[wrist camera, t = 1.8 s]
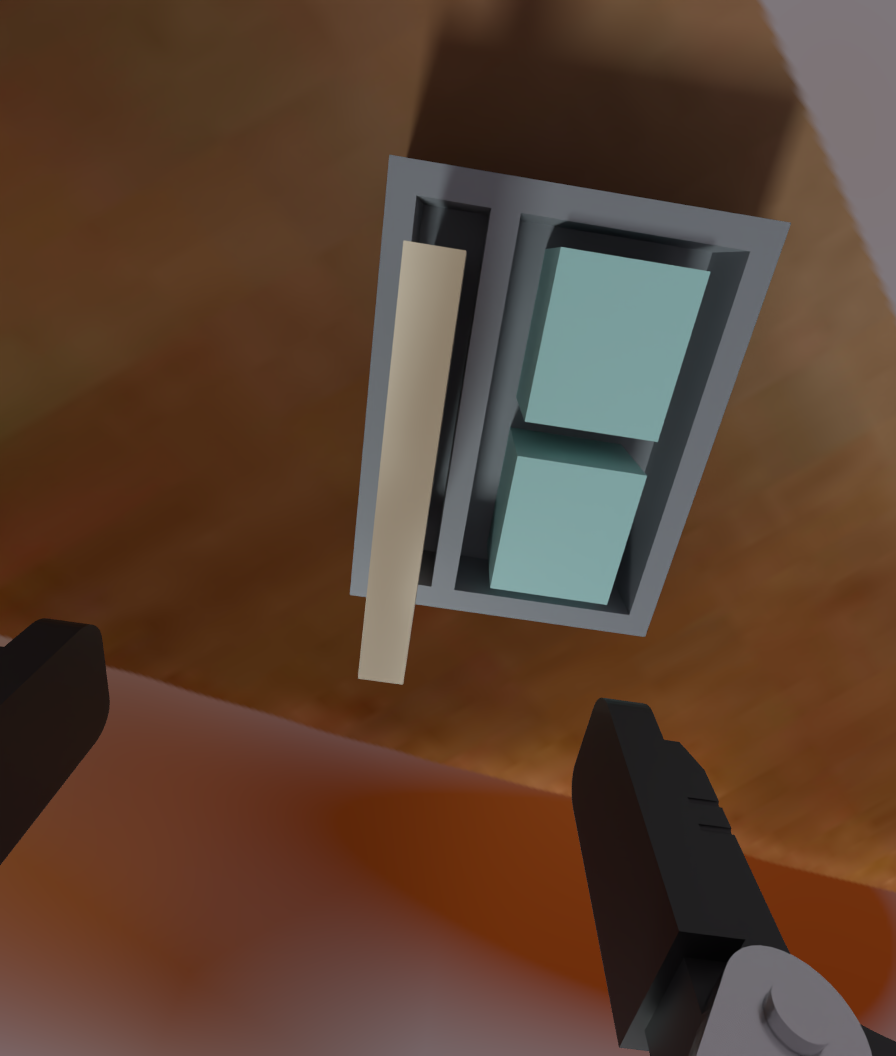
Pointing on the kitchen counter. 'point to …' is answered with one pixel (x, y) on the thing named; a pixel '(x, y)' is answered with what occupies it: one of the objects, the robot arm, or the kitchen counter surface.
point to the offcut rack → (497, 356)
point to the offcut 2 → (562, 515)
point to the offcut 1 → (607, 342)
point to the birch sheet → (409, 451)
